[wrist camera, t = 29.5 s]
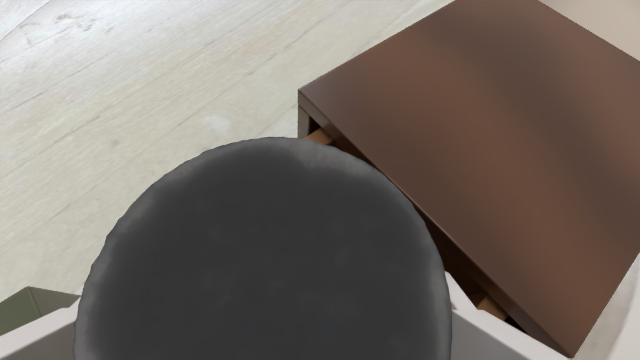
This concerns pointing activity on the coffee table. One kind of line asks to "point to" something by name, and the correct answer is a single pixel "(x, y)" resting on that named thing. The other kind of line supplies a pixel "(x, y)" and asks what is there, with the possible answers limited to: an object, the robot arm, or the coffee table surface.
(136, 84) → the coffee table surface
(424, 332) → the pill bottle
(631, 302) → the coffee table surface
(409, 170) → the cabinet
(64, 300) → the drawer
